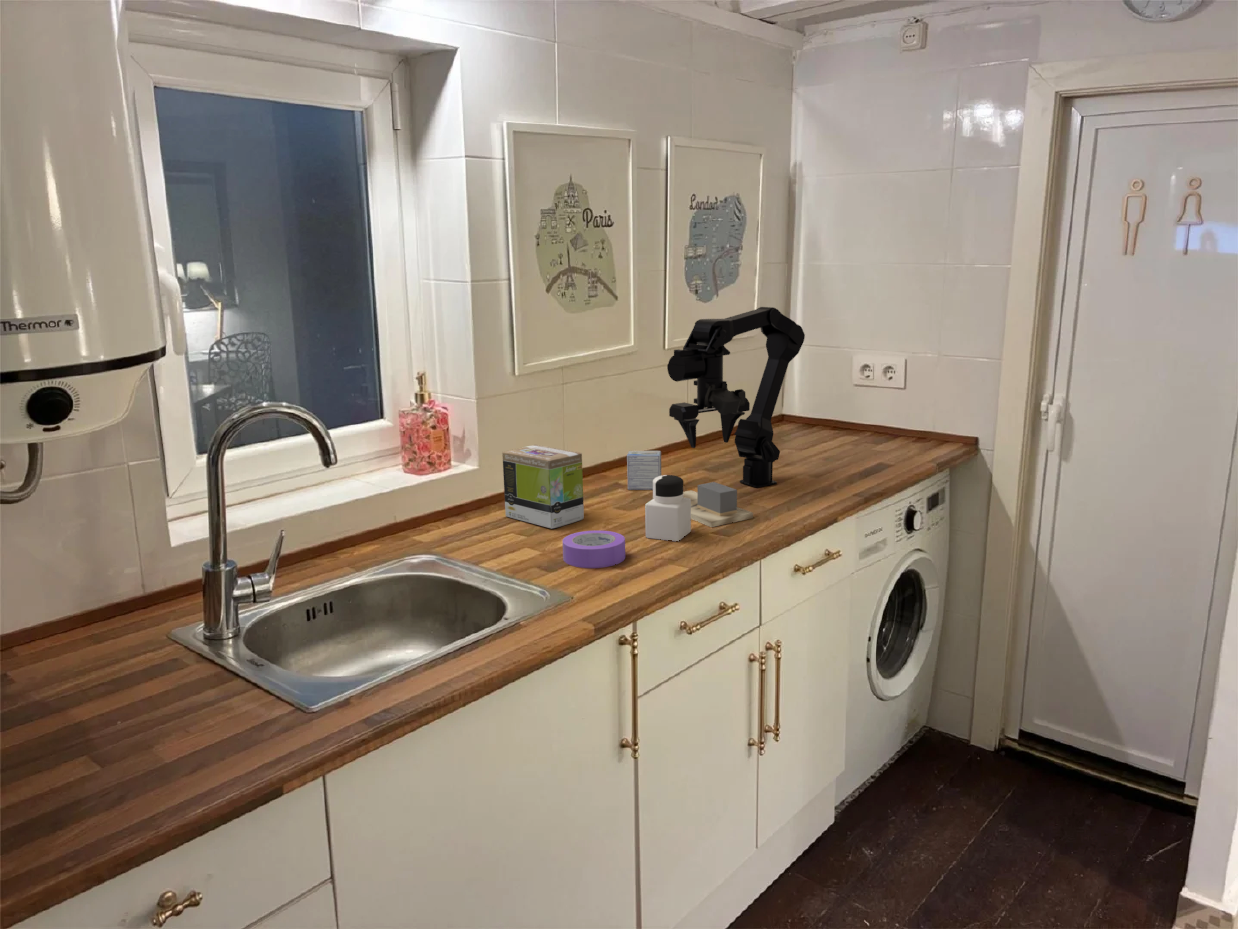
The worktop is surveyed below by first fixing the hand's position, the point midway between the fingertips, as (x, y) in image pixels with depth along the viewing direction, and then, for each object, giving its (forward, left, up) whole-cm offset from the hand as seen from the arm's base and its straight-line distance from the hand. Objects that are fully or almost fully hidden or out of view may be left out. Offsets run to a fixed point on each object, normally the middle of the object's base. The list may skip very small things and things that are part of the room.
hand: (709, 445), depth 213 cm
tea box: (+39, -7, -12) cm, 41 cm away
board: (+8, +8, -12) cm, 17 cm away
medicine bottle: (+24, +18, -12) cm, 32 cm away
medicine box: (+8, -15, -12) cm, 21 cm away
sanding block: (+8, +13, -11) cm, 19 cm away
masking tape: (+43, +21, -12) cm, 49 cm away
